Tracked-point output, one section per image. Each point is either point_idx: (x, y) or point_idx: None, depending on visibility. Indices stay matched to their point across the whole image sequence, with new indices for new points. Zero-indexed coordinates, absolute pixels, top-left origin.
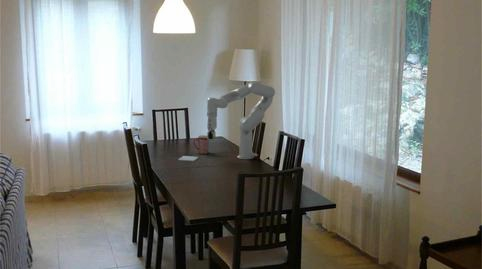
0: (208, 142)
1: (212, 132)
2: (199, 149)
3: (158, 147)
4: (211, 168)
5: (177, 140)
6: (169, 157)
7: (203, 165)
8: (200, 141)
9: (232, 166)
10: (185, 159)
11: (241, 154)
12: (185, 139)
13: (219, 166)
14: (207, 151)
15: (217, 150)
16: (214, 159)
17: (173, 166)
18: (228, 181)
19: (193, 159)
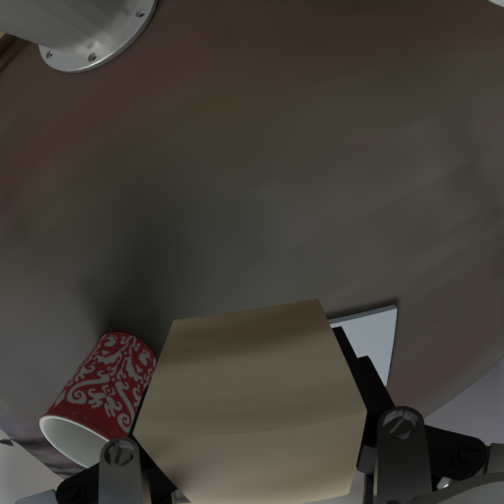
0: (83, 383)
1: (309, 455)
2: None
3: (179, 494)
4: (495, 126)
5: (55, 465)
6: None
7: (463, 197)
8: None
9: (407, 5)
10: (381, 359)
11: (125, 2)
12: (28, 448)
13: (449, 85)
14: (117, 339)
15: (24, 304)
16: (274, 195)
17: (488, 326)
18: None
19: (371, 323)
